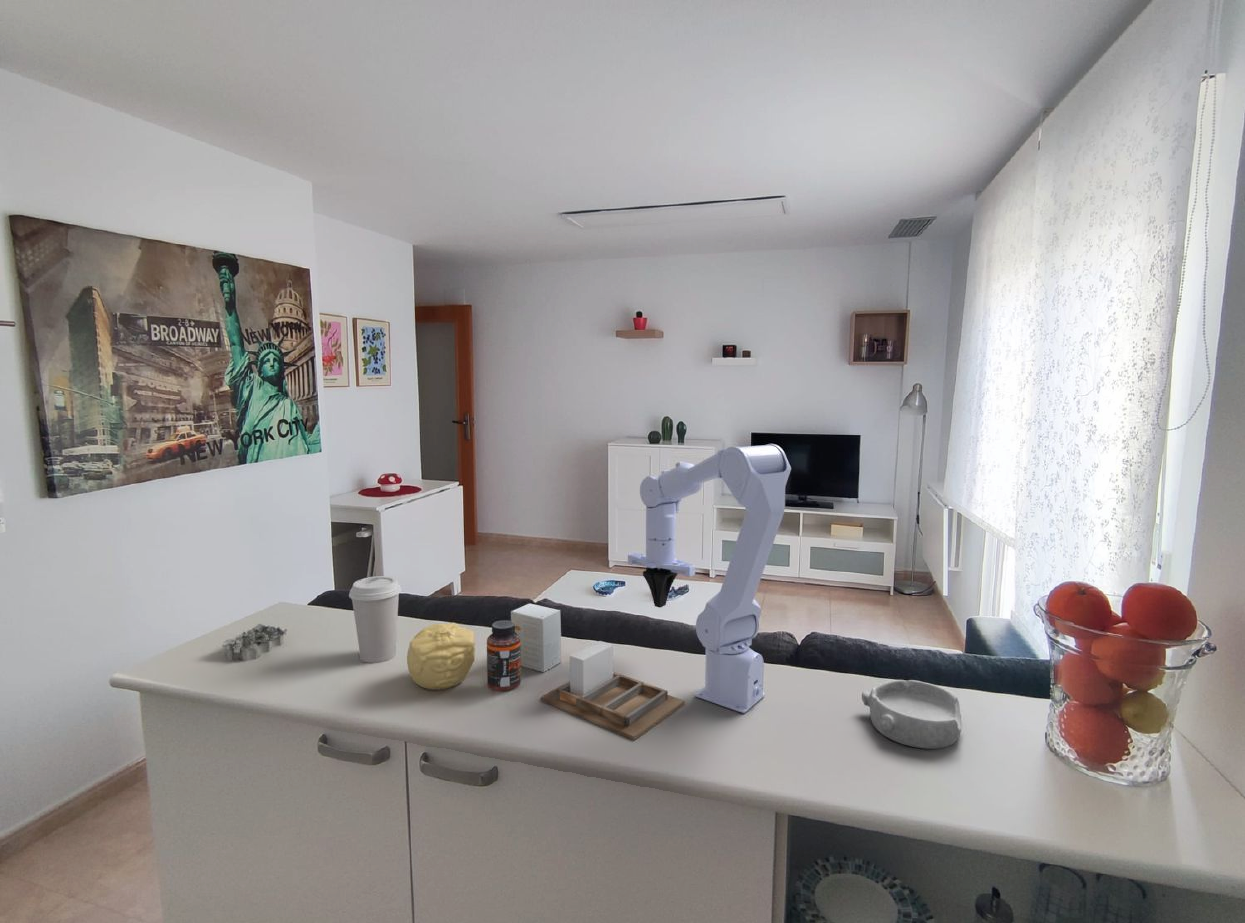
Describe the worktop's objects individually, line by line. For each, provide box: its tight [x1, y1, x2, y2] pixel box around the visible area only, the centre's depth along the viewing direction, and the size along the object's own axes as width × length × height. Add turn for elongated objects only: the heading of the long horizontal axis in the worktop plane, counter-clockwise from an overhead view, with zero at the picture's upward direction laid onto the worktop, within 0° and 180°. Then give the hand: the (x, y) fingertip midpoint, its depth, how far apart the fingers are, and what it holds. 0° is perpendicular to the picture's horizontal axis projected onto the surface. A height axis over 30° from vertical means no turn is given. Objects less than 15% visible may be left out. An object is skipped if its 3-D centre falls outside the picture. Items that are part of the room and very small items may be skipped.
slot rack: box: [539, 671, 685, 741], centre depth 106 cm, size 20×14×2 cm
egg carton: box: [221, 623, 288, 662], centre depth 127 cm, size 11×8×4 cm
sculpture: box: [406, 622, 476, 691], centre depth 113 cm, size 12×12×11 cm
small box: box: [510, 603, 563, 673], centre depth 121 cm, size 8×6×10 cm
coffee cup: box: [348, 575, 402, 664], centre depth 124 cm, size 10×10×15 cm
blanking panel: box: [569, 640, 614, 697], centre depth 109 cm, size 3×8×7 cm, turn 143°
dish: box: [861, 679, 963, 750], centre depth 99 cm, size 14×14×5 cm
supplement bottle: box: [486, 620, 522, 692], centre depth 112 cm, size 6×6×11 cm
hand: (660, 605), depth 123 cm, fingers closed
